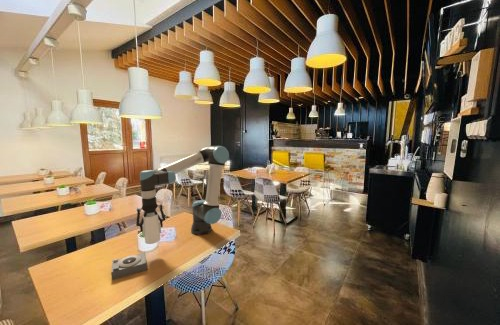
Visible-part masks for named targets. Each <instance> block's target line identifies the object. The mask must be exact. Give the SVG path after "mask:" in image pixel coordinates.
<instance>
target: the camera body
mask: <svg viewBox="0 0 500 325" xmlns="http://www.w3.org/2000/svg"><path fill="white" fill-rule="evenodd" d="M111 261H112V262H111V270H110V274H111V280H112V281H113V280H116V279H119V278H123V277H127V276H130V275H133V274H136V273H141V272H145V271H148V262H147V261H148V260H147V255H146V252H142V253H138V254H133V255H131V254H130V255H128V256H125V257H122V258H114V259H113V260H111Z"/></svg>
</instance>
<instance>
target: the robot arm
mask: <svg viewBox="0 0 500 325" xmlns="http://www.w3.org/2000/svg"><path fill="white" fill-rule="evenodd" d="M229 153H230V152H229V150H228V149H227V147H225V146H222V145H208V146H206V147H203V148H202V149H199V150H197V151H196V152H195V153H193V154H191V155H189V156H187V157H184V158H182V159H179V160H177V161H175V162H172V163H170V164H168V165H165V166H162V167H159V168H156V169H153V170H152V169H148V170H147V169H146V170H142V171H140V172H139V182H140V196H141V203H142V204H141V207H139V208H138V207H137V208H136V211H137V212H136V213H137V214H136V224H135V226H136V227H139V231H140V232H142V237H143V238H145V233H144V225H143V223H144V220H143V217H146V215H147V213H153V212H154V213H155V215H157V214H158V219H159V230H160V234H162V228H163V224H164V223H163V222H164V221H166V217H165V213H164V210H163V204H162V203H160V204H157V203H158V202H157V197H156V196H157V195H156V194H157V193H156V187H158V186H163V185H170V184H174V183H175V182H176V175H177V174H179V173H182V172H183V171H185V170H187V169H190V168H191V167H194V166H197V165H199V164H204V163H206V162H208V163H207V164H208V166H209V172H208V179H207V187H206V193H205V199H200V200H196V201H193V203H192V206H191V207H192V224H191V228H190V232H191V234H193V235H196V234H202V235H206V234H209V233H210V232H212V230H211V229H212V225H214V224H217V223H218V222H219V221H220V219H221V217H222V210H221V209H220V203H219V196H220V190H221V188H220V187H221V179H222V173H223V172H222V171H223V168H224V167H225V165H226V163H227V162H228V161H229V159H230V154H229ZM157 208H158V209H159V210H160V214H161V216H160V215H159V213H158V212H157ZM142 211H144V212H143V215H142V217H141V212H142ZM140 218H141V220H140ZM208 232H209V233H208Z"/></svg>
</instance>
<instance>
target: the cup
mask: <svg viewBox="0 0 500 325" xmlns="http://www.w3.org/2000/svg"><path fill="white" fill-rule="evenodd" d="M158 215H159V213H158V214H157V215H155V213H154V212H153V213H147V215H146V217H143V216H142V217H143V220H144V223H143V225H144V233H145V237H144V243H145V244H147V245H152V244H153V245H154V244H156V243H158V242H160V241H161V233H160V230H159V219H158Z"/></svg>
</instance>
